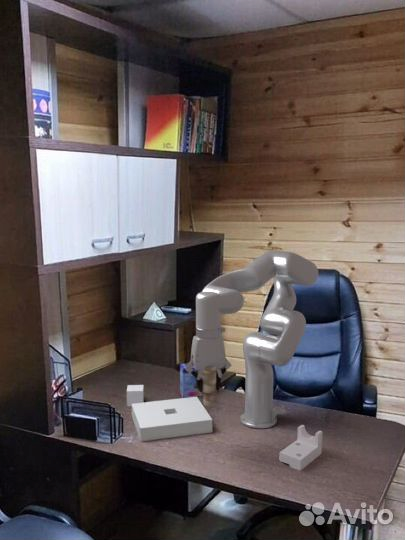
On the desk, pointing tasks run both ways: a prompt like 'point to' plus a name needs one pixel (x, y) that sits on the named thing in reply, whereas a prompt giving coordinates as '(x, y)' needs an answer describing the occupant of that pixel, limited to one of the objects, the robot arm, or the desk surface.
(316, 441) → the bracket
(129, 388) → the white cube
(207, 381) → the beech leg
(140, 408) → the socket block
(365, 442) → the desk surface
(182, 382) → the ink cartridge box
